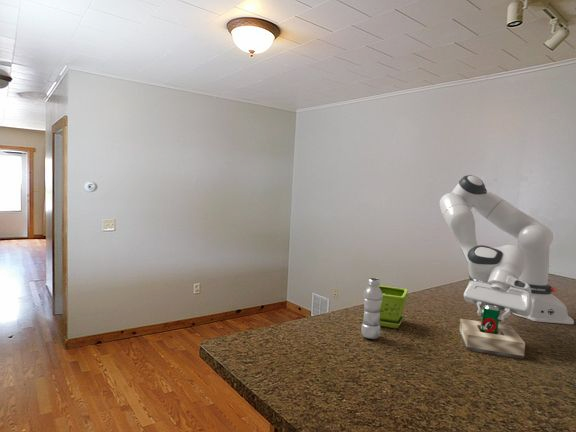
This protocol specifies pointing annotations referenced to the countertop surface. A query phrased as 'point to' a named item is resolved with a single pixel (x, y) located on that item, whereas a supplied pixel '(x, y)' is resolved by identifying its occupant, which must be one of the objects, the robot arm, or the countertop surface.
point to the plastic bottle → (372, 310)
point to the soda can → (490, 319)
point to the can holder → (492, 339)
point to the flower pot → (392, 306)
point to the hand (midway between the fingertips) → (489, 317)
